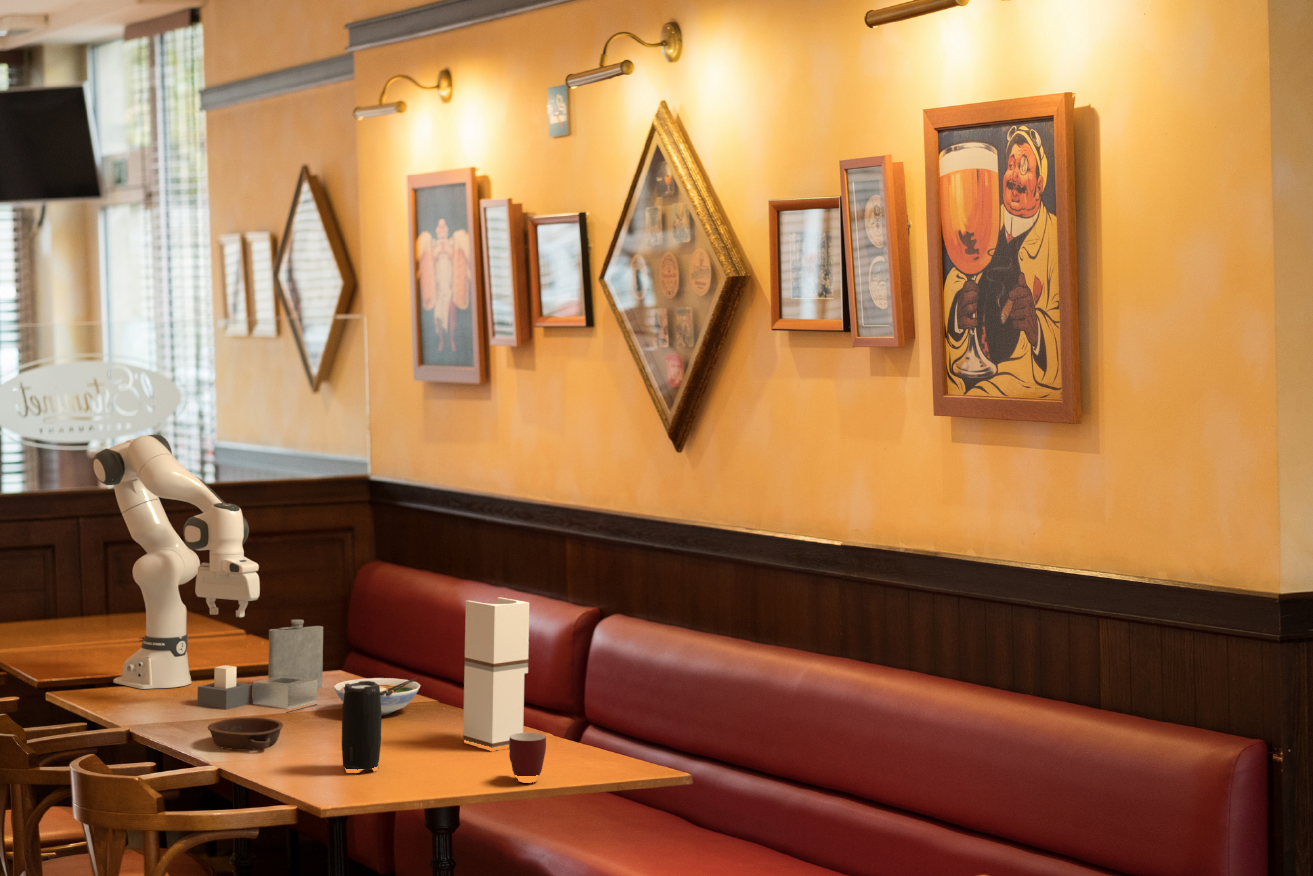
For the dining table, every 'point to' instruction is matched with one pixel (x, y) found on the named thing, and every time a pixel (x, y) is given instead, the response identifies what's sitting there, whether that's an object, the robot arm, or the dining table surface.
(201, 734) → the dining table surface
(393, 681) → the ramen bowl
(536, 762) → the mug
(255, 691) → the port box
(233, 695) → the grey square socket block
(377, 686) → the portable speaker
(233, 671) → the plug
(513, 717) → the banded cream pillar
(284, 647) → the hip flask
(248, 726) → the dish
